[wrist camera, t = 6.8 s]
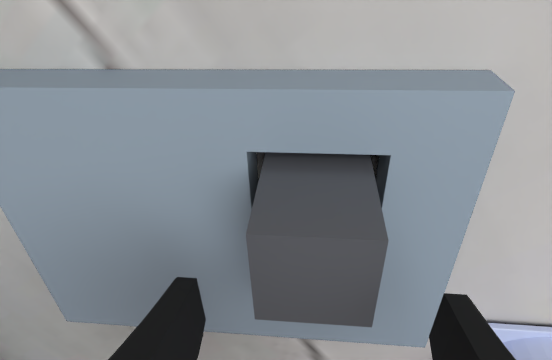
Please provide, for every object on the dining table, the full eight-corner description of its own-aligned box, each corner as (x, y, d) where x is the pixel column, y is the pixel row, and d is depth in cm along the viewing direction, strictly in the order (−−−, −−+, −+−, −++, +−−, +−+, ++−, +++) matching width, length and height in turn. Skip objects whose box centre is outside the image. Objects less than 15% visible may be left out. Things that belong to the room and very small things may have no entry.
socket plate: (416, 314, 21) (425, 347, 19) (84, 292, 23) (66, 321, 21) (490, 70, 13) (514, 91, 11) (-27, 69, 15) (-69, 86, 13)
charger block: (357, 213, 17) (372, 327, 12) (273, 210, 18) (254, 319, 13) (366, 138, 15) (388, 240, 10) (269, 136, 16) (245, 234, 11)
